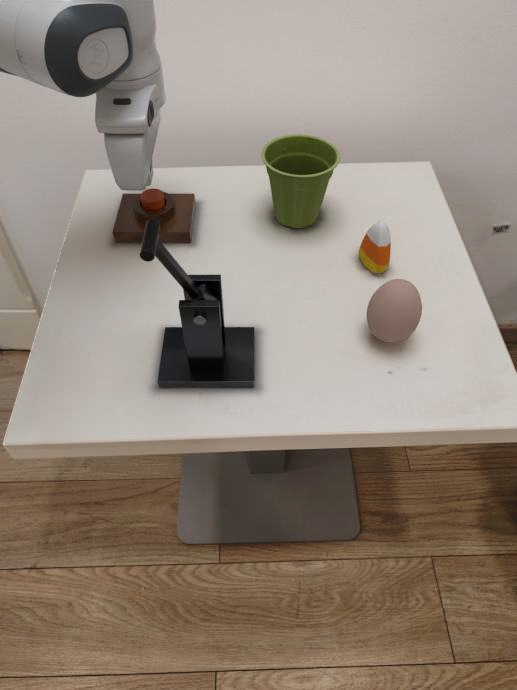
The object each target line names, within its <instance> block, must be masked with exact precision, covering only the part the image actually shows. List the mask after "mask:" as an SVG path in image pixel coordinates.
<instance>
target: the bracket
mask: <svg viewBox="0 0 517 690" xmlns="http://www.w3.org/2000/svg"><path fill="white" fill-rule="evenodd" d="M187 275H188V276H189V277H190V278H191V279H192V281H193V282H194V283H195V284H196V286H199V285H202V284H206V285H207V287H208V288H209V289H210V291H211V292H212V293H213V294H214V296H215V297H216V298H217V300H186V295H187V293H186V291H185V290H184V289H183V288H182V292H183V298H184V299H179V300H178V311H179V312H178V313H179V317H180V324H181V326H165V327H164V333H163V341H162V346H161V354H160V360H159V369H158V376H157V386H158V388H255V327H254V326H225V313H224V298H223V286H222V274H187Z"/></svg>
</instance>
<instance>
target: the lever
mask: <svg viewBox="0 0 517 690" xmlns="http://www.w3.org/2000/svg"><path fill="white" fill-rule="evenodd" d="M159 230H160V223H159V221H158V220H156V219H153V218H151V219H148V220H147V222H146V226H145V231H144V236H143V241H142V243H141V246H140V251H139V258H140V260H142V261H144V262H149V263H150V262H153V261H154V259H155V258H156V259H157V260H158V261H159V263H161V265H162V266H163V267H164V268H165V269H166V270H167V271H168V273H169V274H170V275H171V277H173V279H174V280H175V281H176V282H177V283H178V285H179V286H181V288H182V290H183V289H184V290H185V291H186V293H187V295H186V300H217V298H216V297H215V296H214V294H213V293H212V292H211V291H210V289H209V288H208V287H207V285H206V284H202V285H199V286H196V284H195V283H194V282H193V281H192V279H191V278H190V277H189V276H188V275H189V274H188V273H187V272H186V271H185V270H184V268H183V267H182V265H180V264H179V262H178V261H177V260H176V259H175V258H174V256H173V255H172V254H171V253H170V251H169V250H168V249H167V248H166V246H165V245H164V243H161V242H160V240H159V239H158V235H159Z"/></svg>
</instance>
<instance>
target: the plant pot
mask: <svg viewBox="0 0 517 690" xmlns="http://www.w3.org/2000/svg"><path fill="white" fill-rule="evenodd" d="M261 160H262V162H263V164H264V165H265V170H266V173H267V176H268V178H269V179H268V180H269V187H270V194H271V199H272V205H273V212H274V218H275V219H276V221H277V222H278V223H279V224H281V225H282V226H287V227H291V228H293V229H304V228H308V227H310V226H312V225H314V224H315V223H316V221H317V219H318V218H319V215H320V213H321V208H322V206H323V203H324V199H325V195H326V193H327V189H328V185H329V183H330V179H331V178H332V176H333V174H334V171H335V169H336V168H337V167H338V166H339V163H340V162H341V153H340V151H339V149H338V147H336V145H335V144H333V143H331V142H330V141H328V140H326V139H324V138H322V137H320V136H319V137H318V136H315V135H310V134H302V133H301V134H300V133H298V134H297V133H296V134H287V135H282V136H277V137H276V138H274V139H272V140H270V141H268V142H267V143H266V144H265V145H264V147H262V150H261Z"/></svg>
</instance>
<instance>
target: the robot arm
mask: <svg viewBox="0 0 517 690" xmlns="http://www.w3.org/2000/svg"><path fill="white" fill-rule="evenodd" d="M156 33H157V18H156V11H155V3H154V0H0V73H3V74H7V75H11V76H15V77H19V78H21V79H24V80H26V81H29V82H32V83H34V84H37V85H39V86H42V87H45V88H47V89H50V90H53V91H55V92H58V93H60V94H64V95H67V96H71V97H73V98H74V97H75V98H87V97H90V96H93V95H94V94H95V109H94V122H95V127H96V131H97V132H98V133H99V134H103V141H104V147H105V152H106V155H107V159H108V162H109V166H110V169H111V173H112V176H113V178H114V182H115V184H116V186H117V187H118V188H119V190H121V191H134V192H135V191H145V190H146V188H147V187H150V186H152V182H153V177H154V167H153V157H154V156H153V155H154V151H155V146H156V143H157V137H158V132H159V129H160V123H161V117H162V115H161V108H163V106H164V105H165V104H166V99H167V98H166V97H167V96H166V89H165V81H164V74H163V66H162V60H161V56H160V53H159V51H158V48H157V45H156V35H157V34H156Z"/></svg>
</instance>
